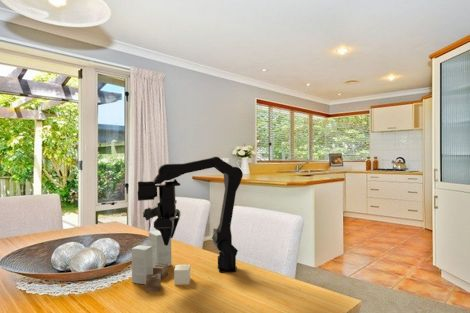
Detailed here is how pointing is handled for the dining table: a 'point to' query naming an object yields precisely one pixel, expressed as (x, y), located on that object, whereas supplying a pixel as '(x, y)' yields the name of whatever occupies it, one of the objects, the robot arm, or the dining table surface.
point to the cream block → (181, 274)
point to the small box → (160, 248)
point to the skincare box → (141, 263)
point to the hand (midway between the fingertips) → (168, 241)
